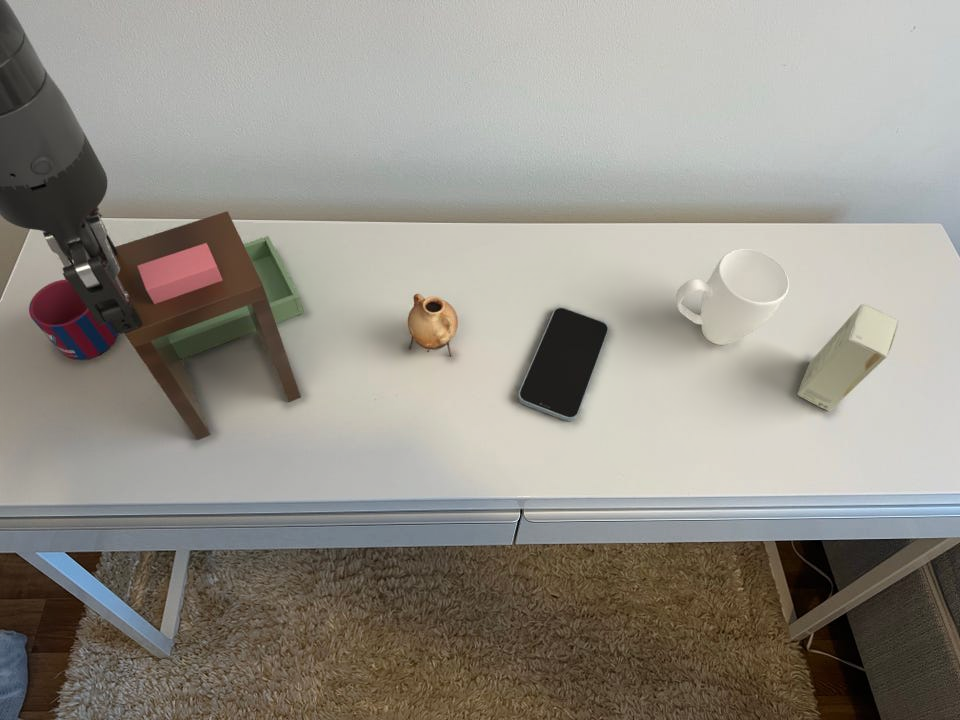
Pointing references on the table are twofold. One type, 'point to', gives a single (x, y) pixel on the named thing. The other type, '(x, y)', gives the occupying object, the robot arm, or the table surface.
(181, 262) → the eraser
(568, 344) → the smartphone
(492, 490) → the table surface
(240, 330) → the tray
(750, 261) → the mug
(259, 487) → the table surface
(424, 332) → the pot
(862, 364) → the cosmetic box
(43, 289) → the cup
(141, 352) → the walnut stand
